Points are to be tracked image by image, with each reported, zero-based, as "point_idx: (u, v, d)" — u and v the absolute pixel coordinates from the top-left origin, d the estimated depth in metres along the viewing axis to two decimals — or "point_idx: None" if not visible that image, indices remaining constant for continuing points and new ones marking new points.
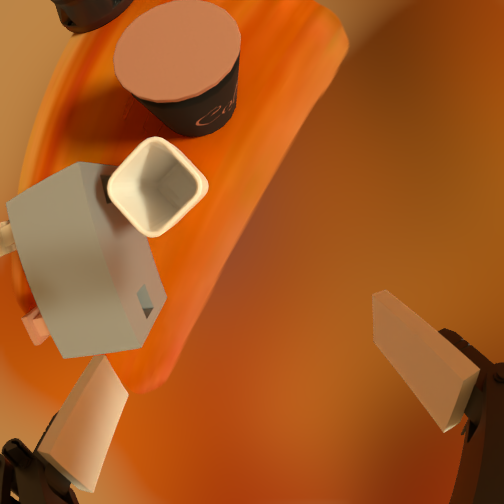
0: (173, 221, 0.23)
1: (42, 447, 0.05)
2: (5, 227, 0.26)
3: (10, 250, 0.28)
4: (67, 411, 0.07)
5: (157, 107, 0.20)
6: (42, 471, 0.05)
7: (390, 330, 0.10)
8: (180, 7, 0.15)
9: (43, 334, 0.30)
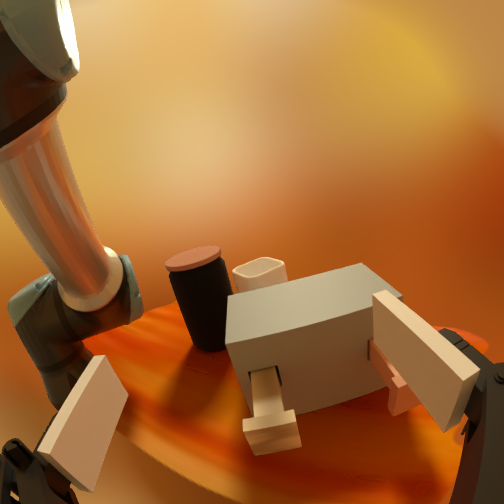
0: None
1: (42, 447, 0.05)
2: (256, 413, 0.23)
3: None
4: (67, 411, 0.07)
5: (218, 268, 0.48)
6: (42, 471, 0.05)
7: (390, 330, 0.10)
8: (173, 258, 0.51)
9: None
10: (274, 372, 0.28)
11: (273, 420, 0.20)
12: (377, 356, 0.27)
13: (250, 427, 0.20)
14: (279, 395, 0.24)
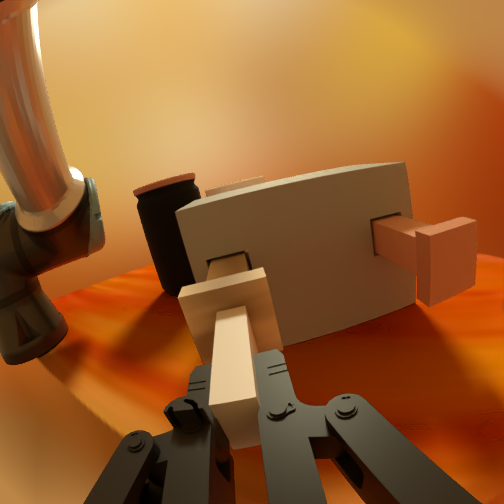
0: None
1: (215, 399, 0.08)
2: None
3: None
4: (224, 359, 0.10)
5: (190, 190, 0.41)
6: (214, 441, 0.06)
7: None
8: None
9: None
10: (242, 254, 0.22)
11: (228, 281, 0.14)
12: (387, 235, 0.20)
13: (190, 292, 0.14)
14: (245, 269, 0.18)
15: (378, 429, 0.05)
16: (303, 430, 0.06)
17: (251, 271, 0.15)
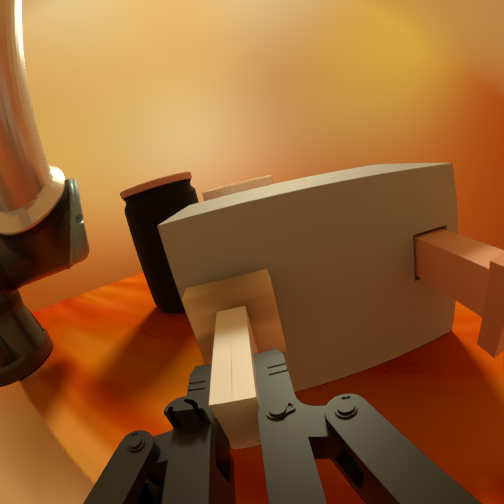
0: None
1: (215, 399, 0.08)
2: None
3: None
4: (224, 359, 0.10)
5: (185, 192, 0.35)
6: (214, 441, 0.06)
7: None
8: None
9: None
10: None
11: (232, 282, 0.14)
12: (437, 257, 0.14)
13: (194, 294, 0.14)
14: None
15: (378, 429, 0.05)
16: (303, 430, 0.06)
17: (255, 272, 0.15)
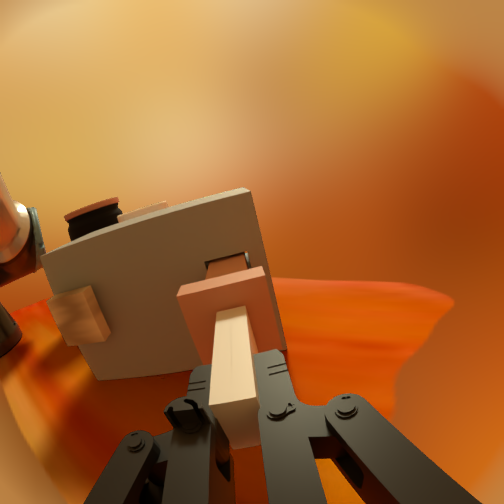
0: None
1: (215, 399, 0.08)
2: None
3: (96, 304, 0.21)
4: (224, 359, 0.10)
5: (108, 215, 0.40)
6: (213, 441, 0.06)
7: None
8: None
9: None
10: None
11: (70, 293, 0.19)
12: None
13: (52, 298, 0.19)
14: None
15: (378, 429, 0.05)
16: (303, 430, 0.06)
17: (83, 287, 0.20)
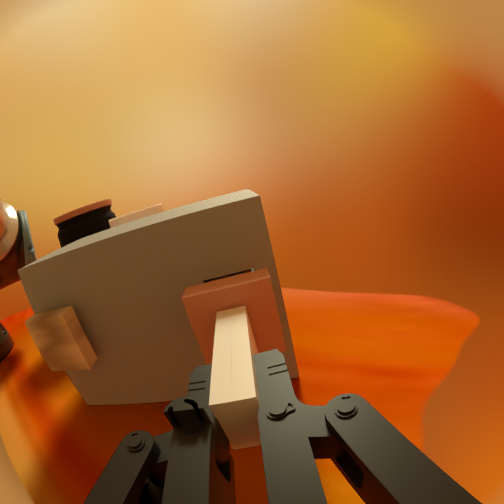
0: None
1: (215, 399, 0.08)
2: None
3: (79, 327, 0.17)
4: (224, 358, 0.10)
5: (100, 219, 0.36)
6: (213, 441, 0.06)
7: None
8: None
9: None
10: None
11: (49, 314, 0.16)
12: None
13: (31, 319, 0.15)
14: None
15: (378, 429, 0.05)
16: (303, 430, 0.06)
17: (64, 308, 0.16)
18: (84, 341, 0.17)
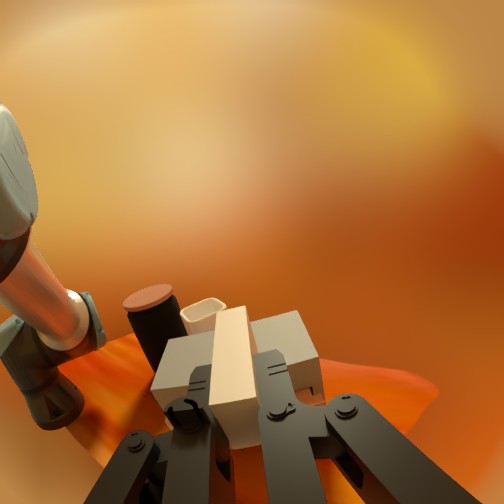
0: (221, 302, 0.48)
1: (215, 399, 0.08)
2: None
3: None
4: (224, 359, 0.10)
5: (168, 308, 0.49)
6: (213, 441, 0.06)
7: None
8: (131, 296, 0.52)
9: (310, 395, 0.28)
10: None
11: None
12: None
13: None
14: None
15: (378, 429, 0.05)
16: (303, 430, 0.06)
17: None
18: None
